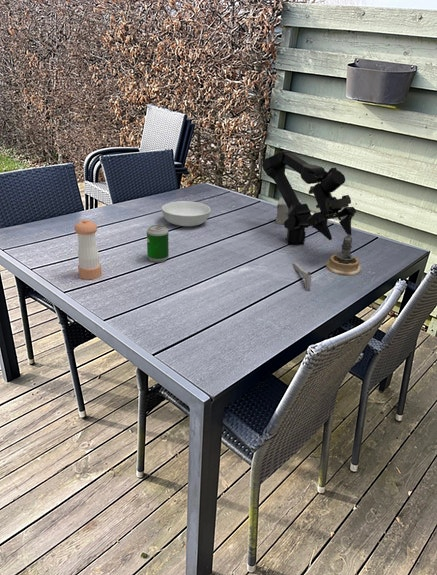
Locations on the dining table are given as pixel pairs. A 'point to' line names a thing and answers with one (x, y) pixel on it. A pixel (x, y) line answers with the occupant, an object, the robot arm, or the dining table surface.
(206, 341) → the dining table surface
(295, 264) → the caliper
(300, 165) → the robot arm
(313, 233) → the dining table surface
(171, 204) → the serving bowl
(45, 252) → the dining table surface
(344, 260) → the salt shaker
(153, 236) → the soda can
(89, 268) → the pepper shaker
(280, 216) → the incense holder
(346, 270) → the dish
